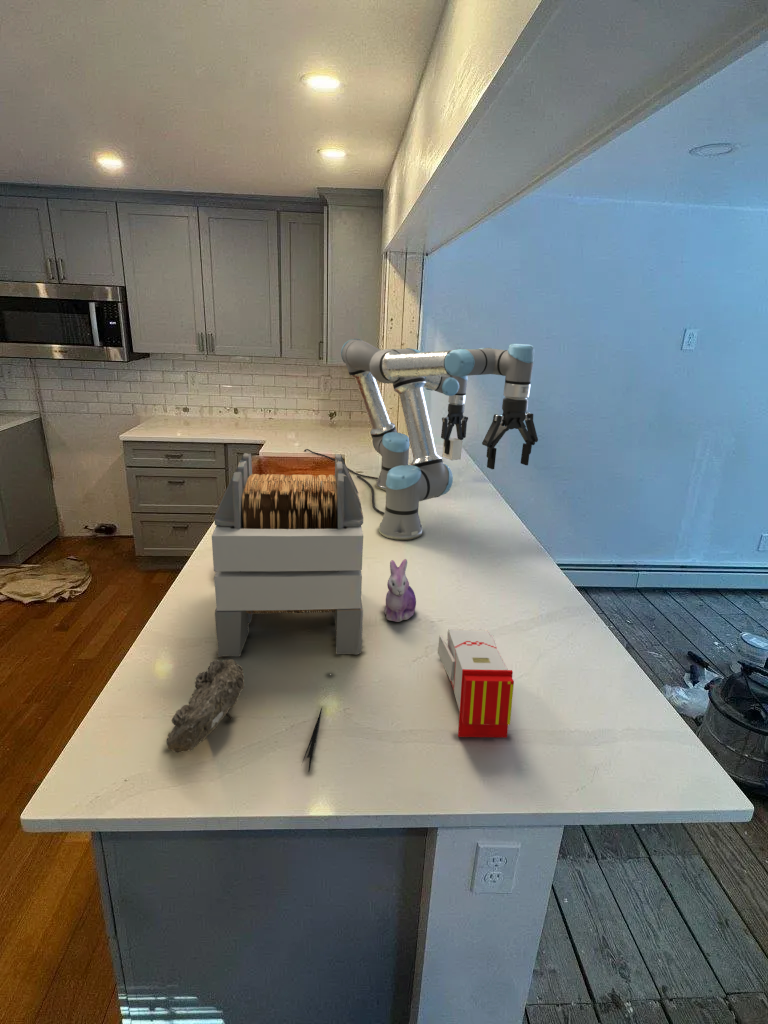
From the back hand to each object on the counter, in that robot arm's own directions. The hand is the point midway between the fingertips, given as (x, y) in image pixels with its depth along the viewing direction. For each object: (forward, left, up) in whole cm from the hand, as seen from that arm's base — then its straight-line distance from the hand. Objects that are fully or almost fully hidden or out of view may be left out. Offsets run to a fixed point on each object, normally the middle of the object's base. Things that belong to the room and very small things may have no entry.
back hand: (451, 453), depth 268 cm
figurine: (+37, -129, -12) cm, 135 cm away
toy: (+64, -150, -12) cm, 164 cm away
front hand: (+47, -77, +18) cm, 92 cm away
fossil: (+24, -183, -12) cm, 185 cm away
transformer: (+15, -146, -12) cm, 147 cm away
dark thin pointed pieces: (+42, -173, -12) cm, 178 cm away
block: (0, 0, -2) cm, 2 cm away
